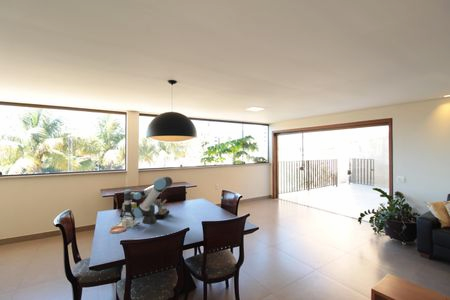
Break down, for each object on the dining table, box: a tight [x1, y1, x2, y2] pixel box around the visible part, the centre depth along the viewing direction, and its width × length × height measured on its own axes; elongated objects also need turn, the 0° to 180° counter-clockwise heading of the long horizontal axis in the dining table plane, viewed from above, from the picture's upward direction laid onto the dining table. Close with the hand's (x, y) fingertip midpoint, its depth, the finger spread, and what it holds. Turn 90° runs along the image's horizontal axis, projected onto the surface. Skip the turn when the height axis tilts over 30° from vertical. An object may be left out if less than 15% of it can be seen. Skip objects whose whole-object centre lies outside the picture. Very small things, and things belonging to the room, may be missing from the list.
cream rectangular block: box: [124, 217, 132, 224], centre depth 236 cm, size 4×4×6 cm
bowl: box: [109, 226, 127, 234], centre depth 216 cm, size 15×15×2 cm
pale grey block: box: [121, 218, 128, 226], centre depth 229 cm, size 4×4×6 cm
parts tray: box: [112, 220, 140, 228], centre depth 232 cm, size 21×16×2 cm
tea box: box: [121, 201, 138, 217], centre depth 272 cm, size 15×10×15 cm, turn 66°
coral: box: [153, 198, 170, 219], centre depth 264 cm, size 25×20×22 cm
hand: (128, 223), depth 236 cm, fingers closed on parts tray, 11 cm apart
